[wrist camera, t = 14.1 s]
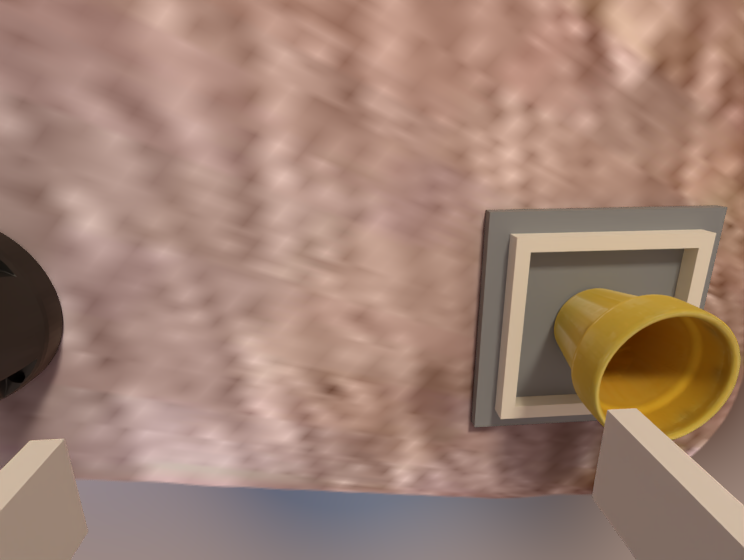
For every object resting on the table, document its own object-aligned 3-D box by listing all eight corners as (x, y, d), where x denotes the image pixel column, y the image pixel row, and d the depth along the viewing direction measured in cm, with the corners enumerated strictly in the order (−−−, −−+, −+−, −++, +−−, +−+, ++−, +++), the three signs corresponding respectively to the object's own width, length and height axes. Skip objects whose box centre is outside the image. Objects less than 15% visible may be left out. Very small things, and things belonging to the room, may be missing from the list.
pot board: (471, 420, 43) (479, 437, 41) (486, 210, 37) (496, 215, 34) (671, 409, 44) (690, 425, 42) (717, 205, 38) (742, 210, 36)
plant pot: (634, 375, 42) (721, 444, 32) (525, 378, 41) (582, 449, 31) (658, 267, 38) (761, 308, 29) (541, 267, 38) (608, 310, 28)
